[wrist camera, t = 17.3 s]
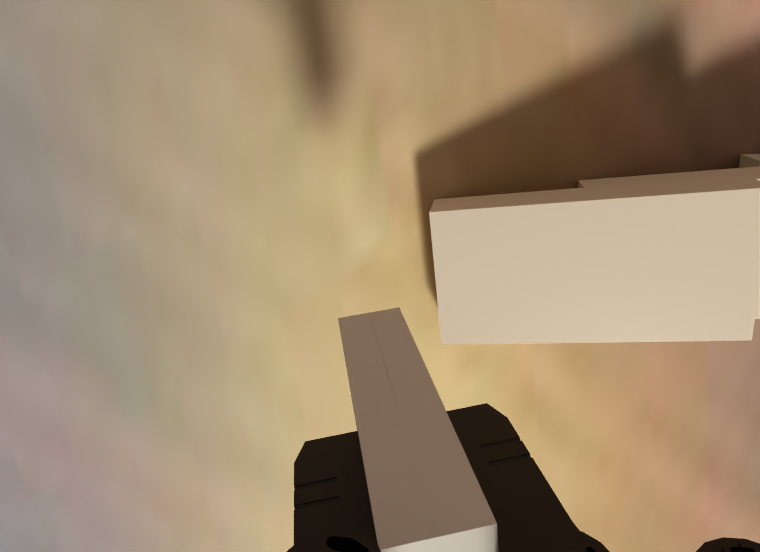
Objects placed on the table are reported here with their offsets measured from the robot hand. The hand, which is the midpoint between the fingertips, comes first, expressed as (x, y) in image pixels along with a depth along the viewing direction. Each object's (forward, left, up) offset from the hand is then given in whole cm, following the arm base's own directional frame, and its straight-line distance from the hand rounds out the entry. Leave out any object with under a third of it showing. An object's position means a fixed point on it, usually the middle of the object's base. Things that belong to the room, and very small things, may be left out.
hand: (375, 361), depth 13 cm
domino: (+1, +3, -6) cm, 7 cm away
